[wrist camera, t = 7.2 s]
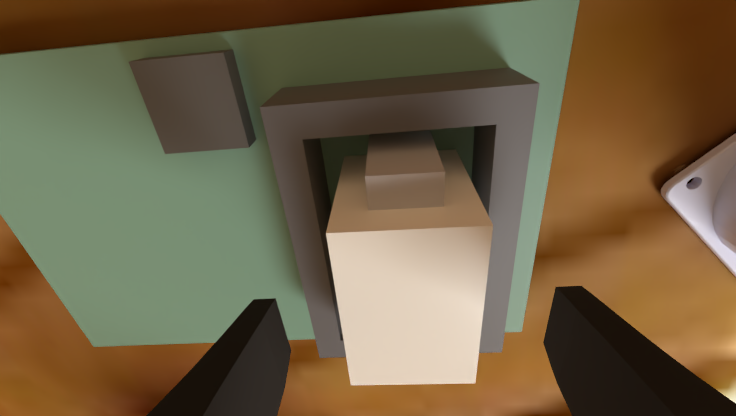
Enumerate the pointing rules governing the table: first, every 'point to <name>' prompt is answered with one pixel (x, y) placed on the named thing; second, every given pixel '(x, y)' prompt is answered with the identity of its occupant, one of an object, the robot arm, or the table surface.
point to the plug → (409, 262)
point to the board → (267, 160)
